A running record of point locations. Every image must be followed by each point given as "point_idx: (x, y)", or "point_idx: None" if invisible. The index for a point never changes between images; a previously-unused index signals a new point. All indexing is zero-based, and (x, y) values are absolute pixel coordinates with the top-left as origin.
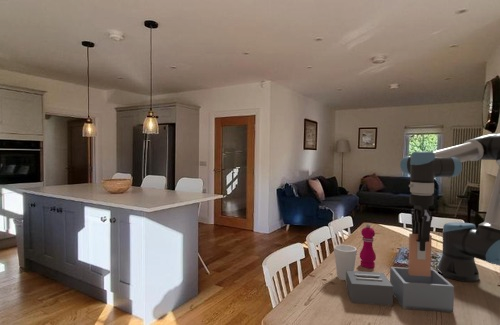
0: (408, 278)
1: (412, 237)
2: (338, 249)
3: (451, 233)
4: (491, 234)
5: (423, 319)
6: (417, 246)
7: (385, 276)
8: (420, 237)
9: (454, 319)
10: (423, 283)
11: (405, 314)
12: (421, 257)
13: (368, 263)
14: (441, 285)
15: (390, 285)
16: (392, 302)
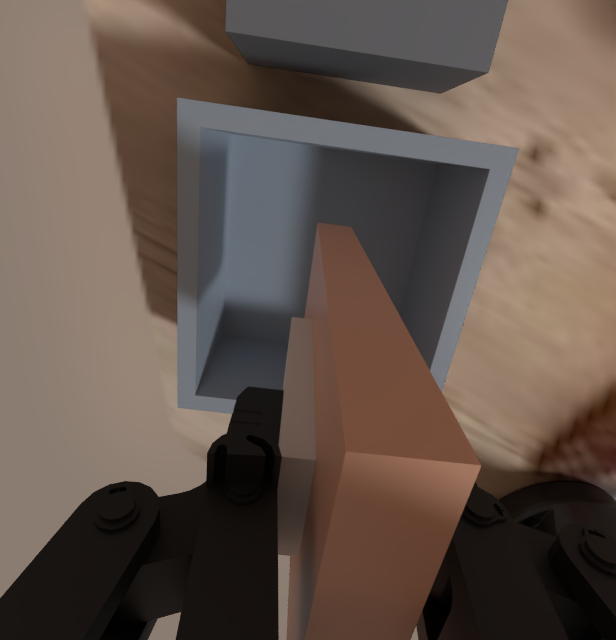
0: (433, 263)
1: (331, 432)
2: None
3: None
4: None
5: (128, 172)
6: (293, 396)
7: (412, 56)
8: (192, 556)
9: (155, 312)
10: (193, 254)
11: (161, 97)
12: (286, 361)
13: None
14: (179, 350)
15: (238, 14)
16: (245, 58)
